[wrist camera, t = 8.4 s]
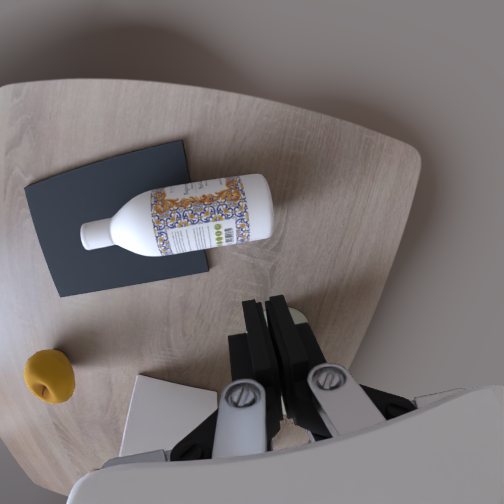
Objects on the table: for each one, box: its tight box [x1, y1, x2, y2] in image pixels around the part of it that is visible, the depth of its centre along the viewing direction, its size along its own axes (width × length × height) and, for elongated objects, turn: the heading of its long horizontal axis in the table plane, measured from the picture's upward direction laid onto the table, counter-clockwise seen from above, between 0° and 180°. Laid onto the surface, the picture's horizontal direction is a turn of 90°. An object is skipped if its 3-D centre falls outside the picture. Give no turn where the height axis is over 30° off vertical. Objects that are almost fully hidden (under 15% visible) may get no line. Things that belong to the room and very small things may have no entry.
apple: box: [24, 350, 75, 404], centre depth 37 cm, size 9×9×9 cm
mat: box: [24, 140, 209, 297], centre depth 34 cm, size 22×16×1 cm
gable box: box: [119, 375, 218, 457], centre depth 35 cm, size 22×13×28 cm, turn 161°
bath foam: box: [81, 174, 274, 256], centre depth 31 cm, size 7×7×20 cm
